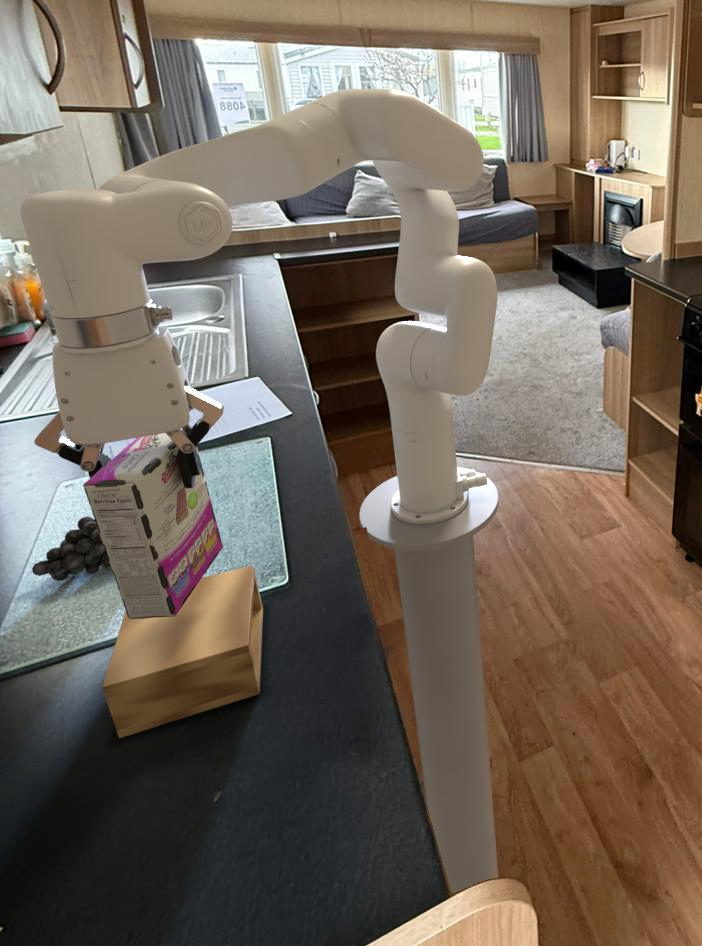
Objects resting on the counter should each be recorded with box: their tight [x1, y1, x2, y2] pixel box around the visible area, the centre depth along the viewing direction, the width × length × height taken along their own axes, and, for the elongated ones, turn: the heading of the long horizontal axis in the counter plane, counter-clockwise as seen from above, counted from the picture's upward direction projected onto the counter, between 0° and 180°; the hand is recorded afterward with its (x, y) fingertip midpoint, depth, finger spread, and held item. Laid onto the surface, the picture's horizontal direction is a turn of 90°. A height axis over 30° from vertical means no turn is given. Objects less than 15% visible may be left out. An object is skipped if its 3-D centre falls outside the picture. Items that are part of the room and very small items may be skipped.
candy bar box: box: [82, 425, 224, 619], centre depth 68 cm, size 11×5×16 cm, turn 5°
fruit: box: [31, 516, 111, 582], centre depth 91 cm, size 9×8×15 cm
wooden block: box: [101, 564, 264, 739], centre depth 74 cm, size 13×14×7 cm
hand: (151, 488), depth 67 cm, fingers closed on candy bar box, 6 cm apart
